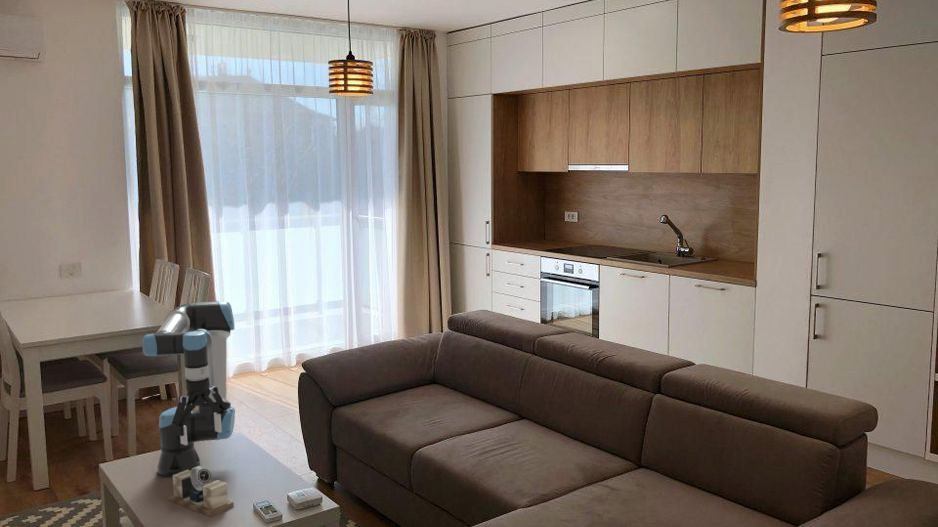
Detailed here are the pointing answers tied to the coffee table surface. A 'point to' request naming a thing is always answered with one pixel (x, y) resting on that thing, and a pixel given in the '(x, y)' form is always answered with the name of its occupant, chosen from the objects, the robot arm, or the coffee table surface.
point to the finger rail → (212, 495)
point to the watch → (199, 482)
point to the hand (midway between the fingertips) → (201, 437)
